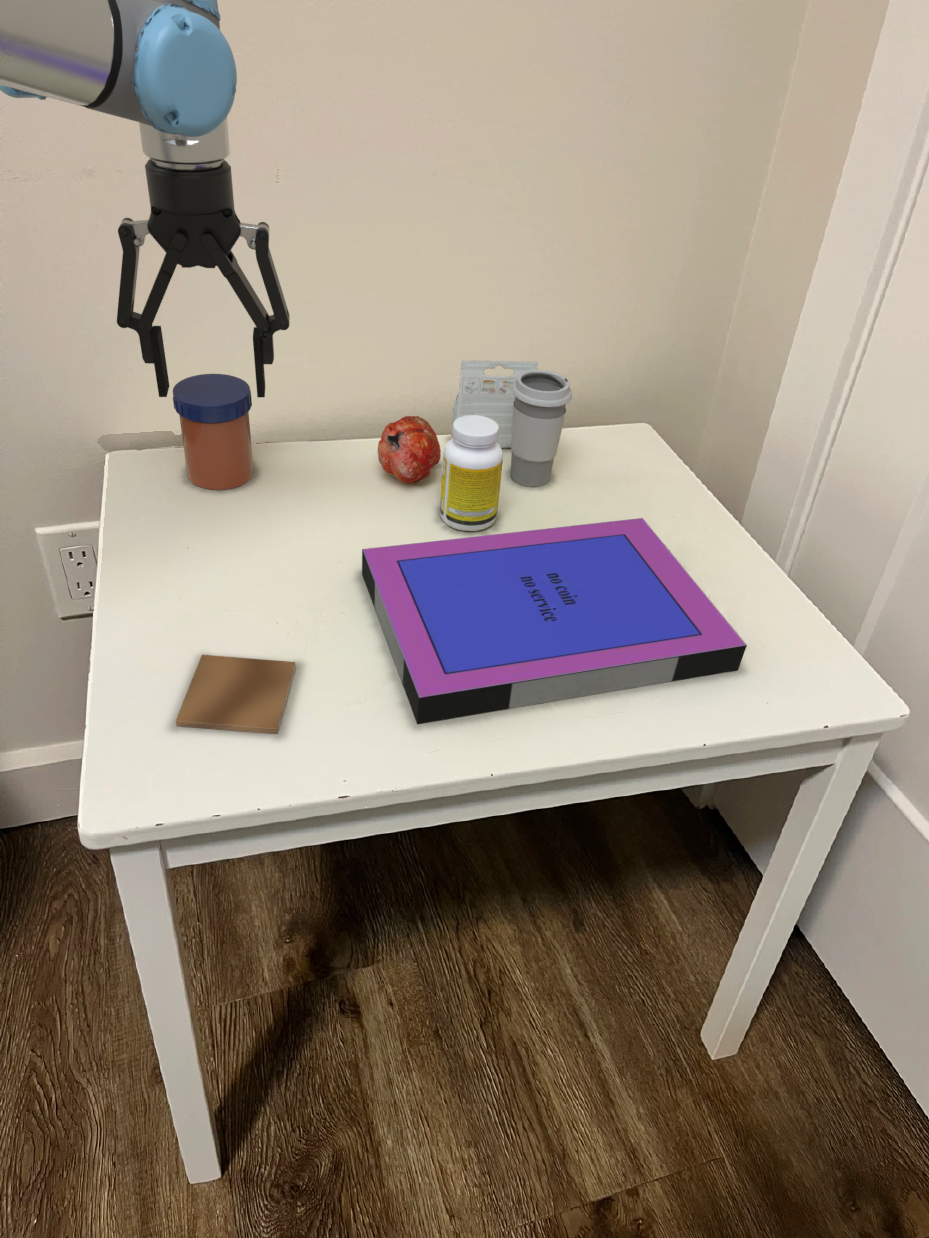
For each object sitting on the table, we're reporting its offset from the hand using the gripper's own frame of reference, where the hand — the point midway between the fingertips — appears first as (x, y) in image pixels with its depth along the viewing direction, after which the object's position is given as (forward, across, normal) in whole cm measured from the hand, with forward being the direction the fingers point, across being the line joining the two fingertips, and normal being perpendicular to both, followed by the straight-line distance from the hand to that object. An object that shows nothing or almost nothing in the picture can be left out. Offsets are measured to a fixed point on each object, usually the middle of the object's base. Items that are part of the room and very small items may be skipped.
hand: (213, 391), depth 96 cm
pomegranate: (+10, +21, -1) cm, 23 cm away
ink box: (+10, +32, +6) cm, 34 cm away
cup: (+10, +35, -1) cm, 37 cm away
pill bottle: (+10, +26, -10) cm, 30 cm away
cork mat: (+10, +4, -36) cm, 38 cm away
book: (+10, +31, -28) cm, 43 cm away
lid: (0, 0, 0) cm, 0 cm away
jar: (+10, 0, 0) cm, 10 cm away
